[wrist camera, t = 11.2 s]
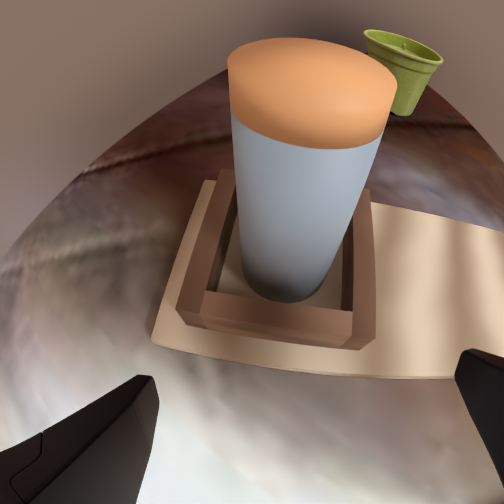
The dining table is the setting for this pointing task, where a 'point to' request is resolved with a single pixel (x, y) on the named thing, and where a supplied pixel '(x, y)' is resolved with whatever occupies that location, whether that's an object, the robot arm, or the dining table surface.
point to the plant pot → (403, 66)
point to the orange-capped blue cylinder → (301, 155)
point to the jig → (341, 295)
